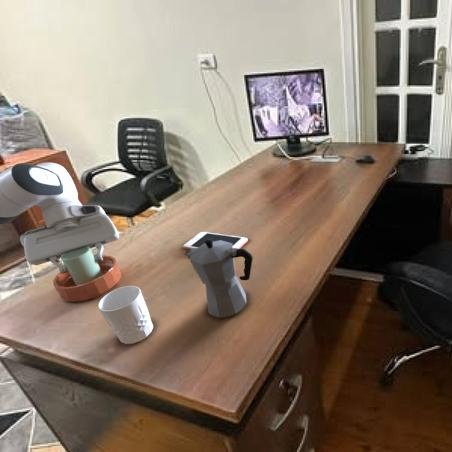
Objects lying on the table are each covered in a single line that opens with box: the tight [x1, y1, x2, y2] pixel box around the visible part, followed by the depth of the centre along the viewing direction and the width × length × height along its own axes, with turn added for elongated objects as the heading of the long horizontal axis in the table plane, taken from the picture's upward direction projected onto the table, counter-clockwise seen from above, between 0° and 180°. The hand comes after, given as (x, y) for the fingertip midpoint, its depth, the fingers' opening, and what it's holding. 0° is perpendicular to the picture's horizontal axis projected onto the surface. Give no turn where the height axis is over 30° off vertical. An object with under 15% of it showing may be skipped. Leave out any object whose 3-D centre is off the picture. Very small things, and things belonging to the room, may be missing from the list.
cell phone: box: [182, 231, 249, 250], centre depth 107 cm, size 9×18×1 cm, turn 69°
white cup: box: [97, 285, 154, 345], centre depth 75 cm, size 8×8×10 cm
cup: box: [60, 246, 103, 286], centre depth 91 cm, size 6×6×10 cm
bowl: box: [52, 254, 123, 303], centre depth 93 cm, size 14×14×5 cm
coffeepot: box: [183, 239, 254, 319], centre depth 78 cm, size 15×9×18 cm, turn 83°
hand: (82, 266), depth 90 cm, fingers closed on cup, 6 cm apart
